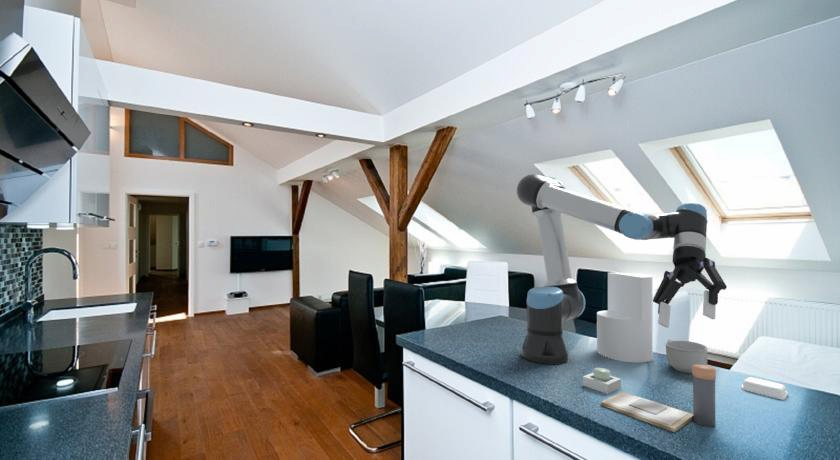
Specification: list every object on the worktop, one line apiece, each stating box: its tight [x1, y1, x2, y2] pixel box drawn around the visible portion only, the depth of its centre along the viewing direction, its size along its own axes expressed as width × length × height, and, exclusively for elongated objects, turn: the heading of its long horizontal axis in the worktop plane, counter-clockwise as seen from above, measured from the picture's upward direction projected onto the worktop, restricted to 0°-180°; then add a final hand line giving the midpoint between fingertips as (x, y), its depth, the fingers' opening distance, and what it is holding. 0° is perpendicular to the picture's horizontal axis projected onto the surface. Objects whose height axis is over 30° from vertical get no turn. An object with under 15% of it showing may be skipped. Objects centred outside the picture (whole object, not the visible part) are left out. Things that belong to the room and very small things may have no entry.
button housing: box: [582, 371, 622, 395], centre depth 105 cm, size 7×7×2 cm
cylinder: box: [596, 272, 654, 364], centre depth 135 cm, size 17×17×28 cm
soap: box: [740, 376, 789, 401], centre depth 103 cm, size 9×7×3 cm
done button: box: [593, 367, 611, 382], centre depth 105 cm, size 4×4×3 cm
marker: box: [691, 364, 717, 428], centre depth 86 cm, size 4×4×12 cm
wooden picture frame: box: [600, 391, 693, 433], centre depth 91 cm, size 16×11×1 cm
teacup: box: [664, 338, 708, 374], centre depth 121 cm, size 14×11×8 cm
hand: (684, 321), depth 99 cm, fingers open, 13 cm apart
